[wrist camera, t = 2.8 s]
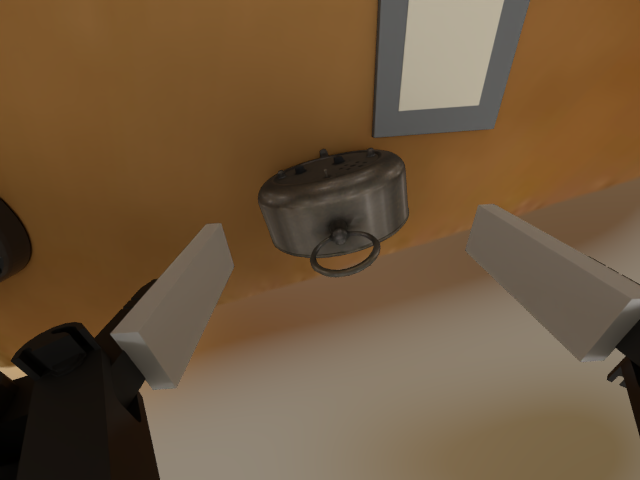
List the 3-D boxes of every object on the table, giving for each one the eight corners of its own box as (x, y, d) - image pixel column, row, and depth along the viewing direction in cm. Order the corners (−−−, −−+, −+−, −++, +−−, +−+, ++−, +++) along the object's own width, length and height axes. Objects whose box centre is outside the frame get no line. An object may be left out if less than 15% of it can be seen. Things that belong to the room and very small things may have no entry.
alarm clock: (282, 208, 26) (250, 337, 12) (265, 158, 23) (197, 247, 9) (382, 184, 25) (479, 292, 11) (377, 129, 22) (497, 177, 8)
